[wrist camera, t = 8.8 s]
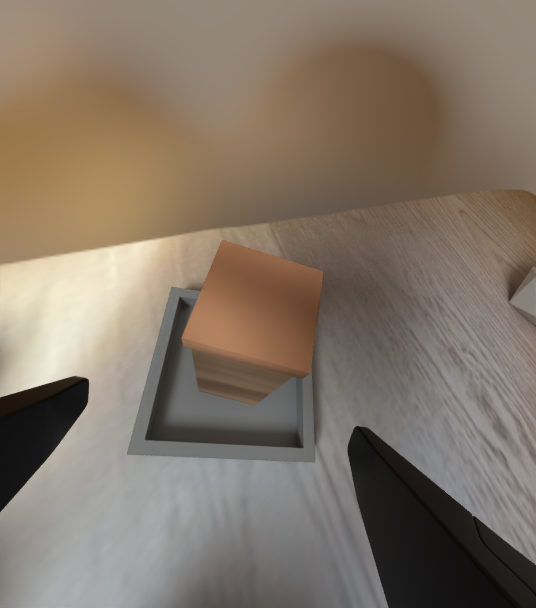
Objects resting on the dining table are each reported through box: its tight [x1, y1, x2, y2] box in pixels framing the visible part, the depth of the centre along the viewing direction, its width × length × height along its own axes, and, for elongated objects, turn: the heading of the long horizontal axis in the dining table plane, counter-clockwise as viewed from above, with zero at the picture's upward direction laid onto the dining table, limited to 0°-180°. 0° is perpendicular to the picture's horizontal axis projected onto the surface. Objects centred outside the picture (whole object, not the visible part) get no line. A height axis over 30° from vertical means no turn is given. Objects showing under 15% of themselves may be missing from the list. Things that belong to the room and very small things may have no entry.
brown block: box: [181, 240, 324, 406], centre depth 16 cm, size 5×5×12 cm
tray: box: [127, 287, 315, 462], centre depth 20 cm, size 12×12×2 cm
